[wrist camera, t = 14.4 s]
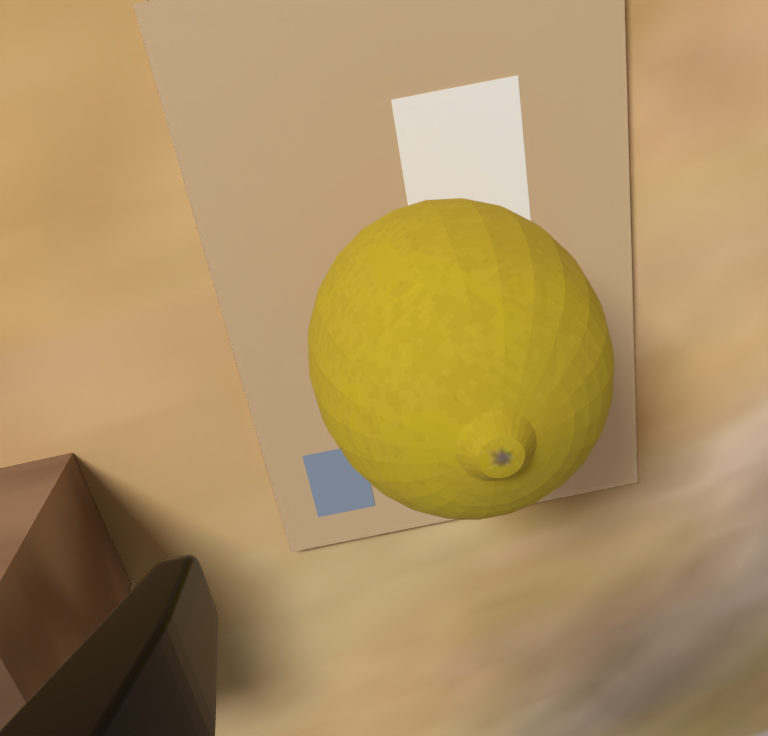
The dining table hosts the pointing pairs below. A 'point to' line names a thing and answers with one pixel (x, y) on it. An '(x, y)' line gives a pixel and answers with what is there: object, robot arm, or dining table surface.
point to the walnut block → (50, 573)
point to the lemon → (460, 359)
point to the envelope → (388, 185)
